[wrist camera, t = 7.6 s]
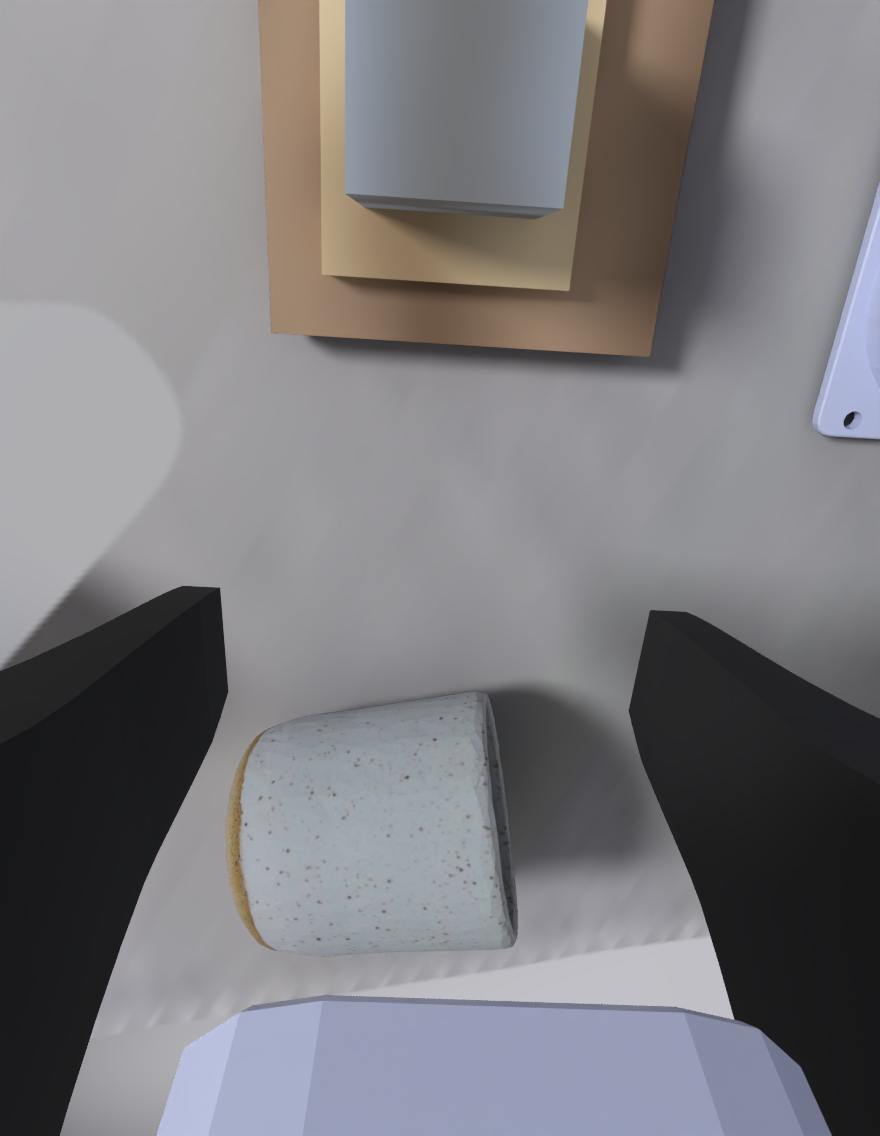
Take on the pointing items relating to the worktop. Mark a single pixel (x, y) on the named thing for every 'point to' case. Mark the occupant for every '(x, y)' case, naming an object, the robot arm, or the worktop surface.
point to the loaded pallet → (442, 235)
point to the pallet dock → (606, 217)
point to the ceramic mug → (375, 832)
